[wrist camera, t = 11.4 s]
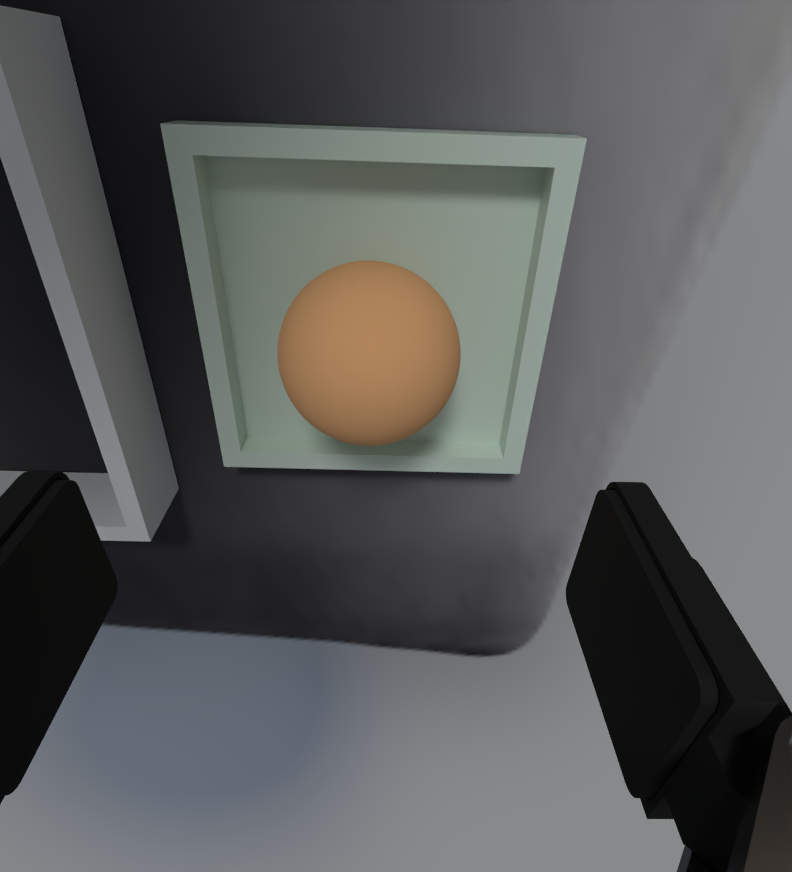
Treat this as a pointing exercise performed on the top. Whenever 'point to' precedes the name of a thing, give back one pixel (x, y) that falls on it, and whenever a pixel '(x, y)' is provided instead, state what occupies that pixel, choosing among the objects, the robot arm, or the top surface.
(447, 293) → the tray
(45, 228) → the grey square frame
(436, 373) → the ball
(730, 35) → the top surface
